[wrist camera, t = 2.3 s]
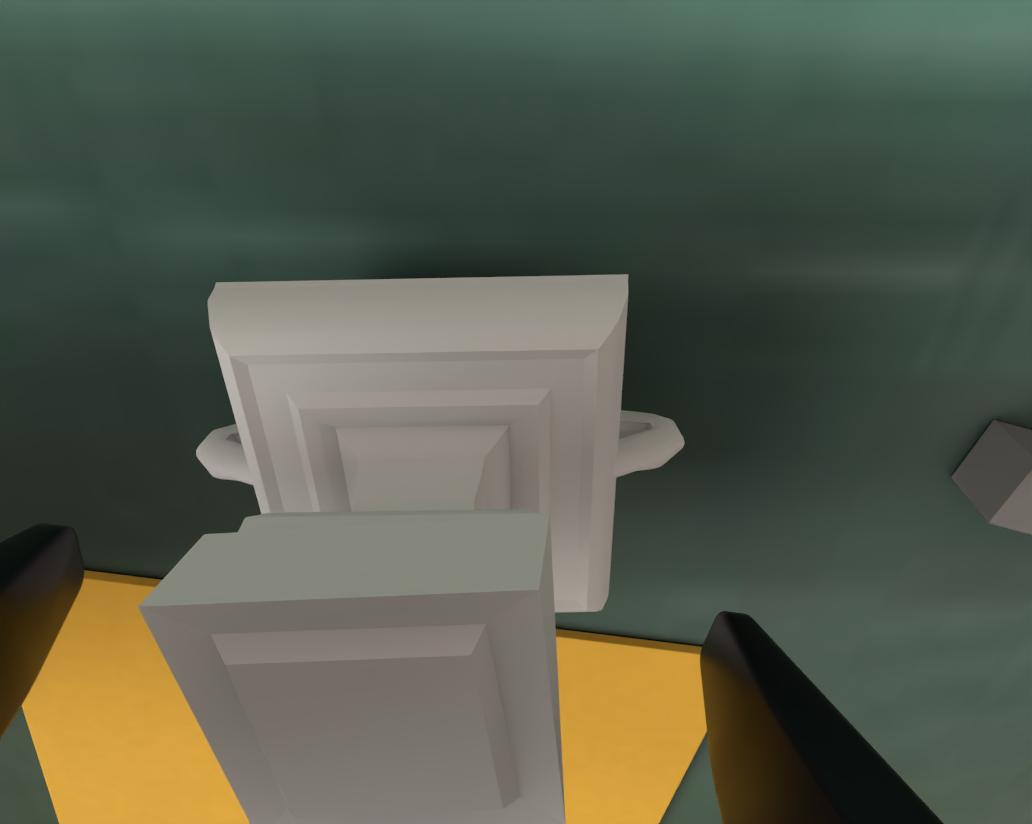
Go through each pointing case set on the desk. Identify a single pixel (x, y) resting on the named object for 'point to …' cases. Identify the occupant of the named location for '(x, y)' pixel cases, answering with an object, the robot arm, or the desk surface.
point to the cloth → (208, 794)
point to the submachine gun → (1000, 476)
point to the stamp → (404, 541)
